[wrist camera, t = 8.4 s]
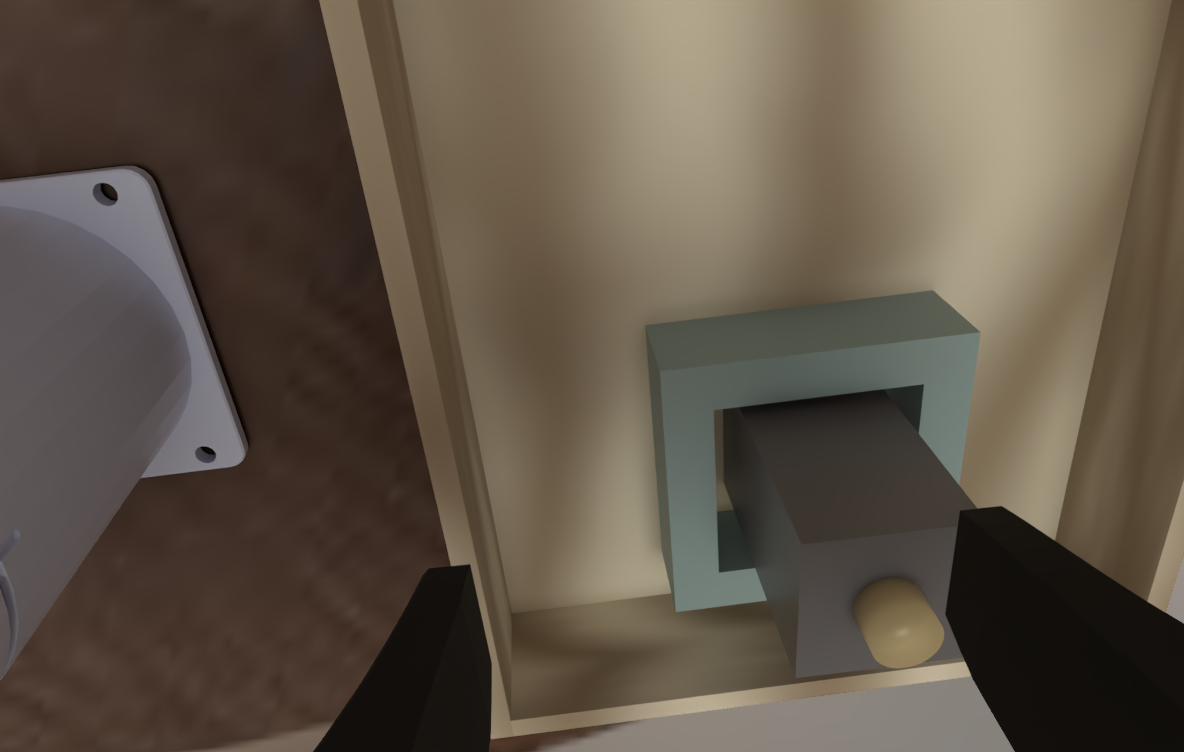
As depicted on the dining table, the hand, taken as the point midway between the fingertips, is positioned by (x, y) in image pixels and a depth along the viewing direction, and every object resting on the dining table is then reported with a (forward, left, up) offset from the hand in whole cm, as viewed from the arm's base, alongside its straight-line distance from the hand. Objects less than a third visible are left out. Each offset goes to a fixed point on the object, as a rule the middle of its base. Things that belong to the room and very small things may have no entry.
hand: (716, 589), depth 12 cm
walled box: (+4, 0, -10) cm, 11 cm away
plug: (+4, -4, -10) cm, 11 cm away
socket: (+4, -4, -10) cm, 12 cm away
